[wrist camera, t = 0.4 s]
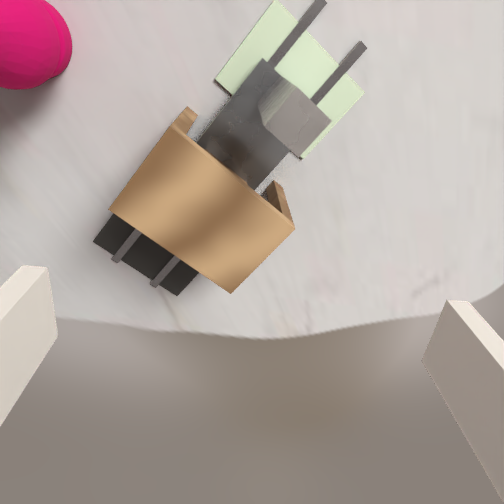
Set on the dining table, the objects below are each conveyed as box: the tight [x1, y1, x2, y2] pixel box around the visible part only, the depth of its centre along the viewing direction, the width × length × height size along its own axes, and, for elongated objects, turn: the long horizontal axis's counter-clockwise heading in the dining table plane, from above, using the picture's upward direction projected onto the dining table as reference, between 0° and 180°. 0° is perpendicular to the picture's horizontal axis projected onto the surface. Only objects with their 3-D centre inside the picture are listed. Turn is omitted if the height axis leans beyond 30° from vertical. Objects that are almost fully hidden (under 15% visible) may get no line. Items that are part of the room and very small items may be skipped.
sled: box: [196, 58, 332, 190], centre depth 32 cm, size 7×18×12 cm, turn 139°
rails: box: [112, 0, 367, 288], centre depth 38 cm, size 6×32×1 cm, turn 139°
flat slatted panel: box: [93, 214, 199, 296], centre depth 42 cm, size 11×7×1 cm, turn 49°
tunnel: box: [108, 107, 295, 294], centre depth 35 cm, size 12×8×10 cm, turn 49°
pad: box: [215, 0, 365, 159], centre depth 35 cm, size 11×8×1 cm
